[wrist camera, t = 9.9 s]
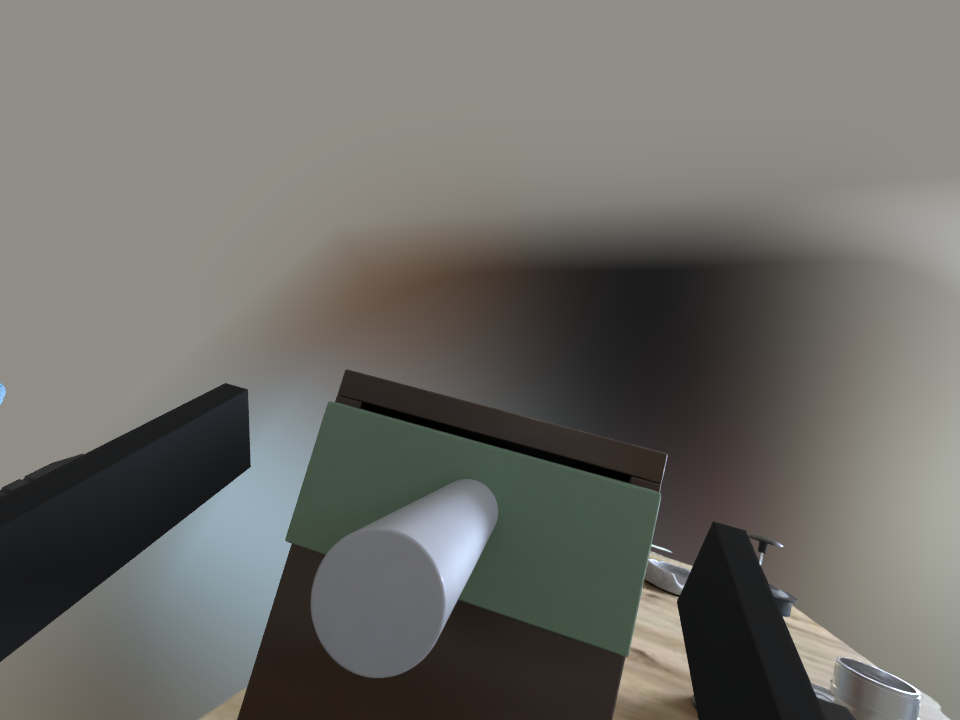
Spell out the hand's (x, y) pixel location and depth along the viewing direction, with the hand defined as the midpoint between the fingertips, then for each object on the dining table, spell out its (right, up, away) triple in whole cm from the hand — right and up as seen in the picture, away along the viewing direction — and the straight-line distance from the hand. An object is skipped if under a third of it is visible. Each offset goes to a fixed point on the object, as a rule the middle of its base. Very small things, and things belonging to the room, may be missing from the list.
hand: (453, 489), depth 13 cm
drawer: (-1, -5, +5) cm, 8 cm away
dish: (+49, -55, +104) cm, 128 cm away
